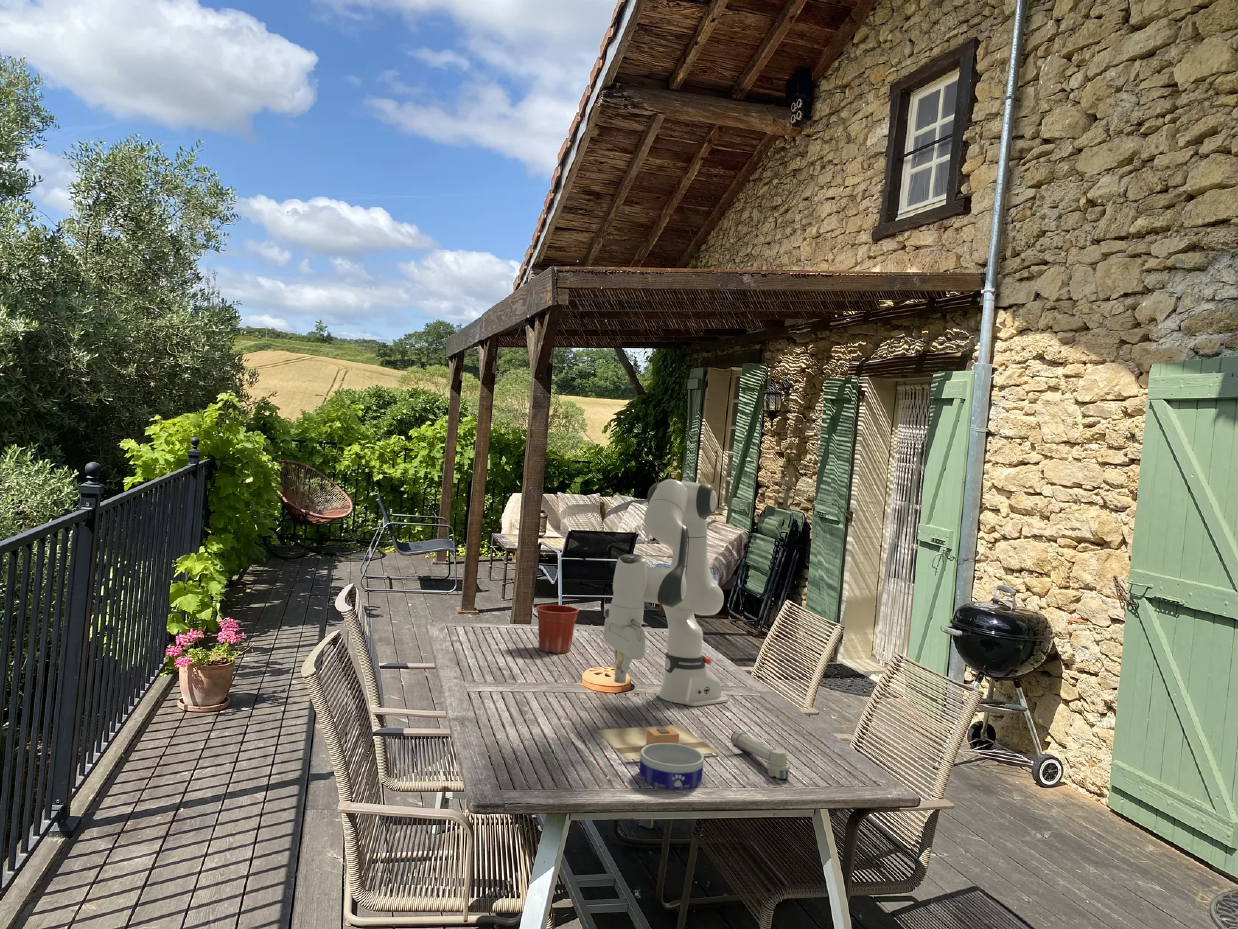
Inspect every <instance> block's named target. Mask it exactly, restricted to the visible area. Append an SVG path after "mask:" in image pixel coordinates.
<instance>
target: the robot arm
mask: <svg viewBox="0 0 1238 929" xmlns="http://www.w3.org/2000/svg"><path fill="white" fill-rule="evenodd" d="M717 494H718V493H717V491H716V489H715V488H714V486H713V485H712V484H708V483H704V482H701V483H699V482H693V481H679V480H677V479H673V478H669V479H668V478H667V479H665V480H663V481H660V482H656V483H655V482H654V483H653V484H652V485H651V486H650V487H649V489H648V492H647V496H646V498H647V507H646V510H645V513H644V517H643V522H644V527H645V530H646V531H647V532H648V533H649V535H651V537H653V538H654V539H656V540H657V541H659V542H661V543H663V544H665V545H667V546H669V547H670V548H672V555H671V556H672V557H671V566H670V567H666V568H661V567H654V566H649V565H647V559H646V557H645V556H643V555H641V554H640V555H639V554H636V553H635V554H633V553H630V554H622V555H621V556H618V559H617V561H616V566H615V569H614V574H613V581H612V592H613V596H612V600H611V602H610V607H607V608H604V610H603V616H604V617H605V619H604V626H603V628H604V629H603V630H604V631H603V639H604V640H603V641H604V643H605V644H607V645H608V646H610V647H611V648H613V655H614V665H615V666H616V658H617V650H618V651H620V652H621V653H623V658H624V659H623V663H621V669H622V670H623V671H627V672H629V670H630V664H631V662H632V660H643V659H644V657H645V651H646V633H645V630H644V629H643V628H642V625H643V622H644V615H645V613H644V611H645V602H646V603H654V604H657V605H660V606H662V608H663V610H664V613H665V617H666V621H667V628H668V632H667V633H668V634H667V635H668V638H667V651H666V652H665V659H664V675H663V676H664V677H663V679H662V680H663V681H662V685H661V687H660V690H659V693H658V697H660V699H662V700H664V701H667V702H671V703H676V704H681V705H685V706H686V705H687V706H690V707H699V706H706V705H714V704H723V703H728V702H729V698H728V696H727V695H726V694H725V693H723V692H722V684H721V680H720V679H719V678H718V677H717V676H716V675H715V674H714V673H713V672H712V671H711V670H710V669H709V668H707V667H706V664H707V665H710V666H711V665H712V663H713V659H712V658H709V656H706V657H705V656H704V655H703V653H702V652H703V640H704V638H703V637H704V632H703V629H702V628H701V626H700V625H699V624H698V622H697V620H696V618H695V615H698V616H714V615H716V614H718V613H719V612H720V611H721V609H722V607H723V605H724V602H725V601H724V600H725V596H724V592H723V590H722V589H721V587H720V586H719V585H718V583H717V582H716V580H715V579H714V576H713V573H712V571H711V569H710V564H709V559H708V524H707V519H708V518H709V517H711V516H712V515H713V514H714V513H715V512H716V508H717V505H718V496H717Z"/></svg>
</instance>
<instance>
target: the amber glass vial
mask: <svg viewBox="0 0 1238 929" xmlns="http://www.w3.org/2000/svg"><path fill="white" fill-rule="evenodd" d="M623 659H624V658H623V653H621V652H620V651H618V650H617V658H616V665H615V668H614V669H615V670H614V671H615V672H614V680H613V682H614V683H617V684H625V683H626V681H627V672H628V671H623V670H622V669H621V663H623Z"/></svg>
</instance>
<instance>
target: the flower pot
mask: <svg viewBox="0 0 1238 929" xmlns="http://www.w3.org/2000/svg"><path fill="white" fill-rule="evenodd" d="M535 609H536V610H537V618H538V620H537V621H538V624H537V625H538V650H539V651H541V652H544V653H550V652H551V653H552V654H566V653H569V652H570V651H571V649H572V641H573V635H574V630H575V629H574V628H575V624H576V621H577V617H578V613H579V612H580V609H578V608H577V607H575V606H574V607H573V606H570V605H562V604H559V605H558V604H542V605H537V606H536V608H535Z"/></svg>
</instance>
